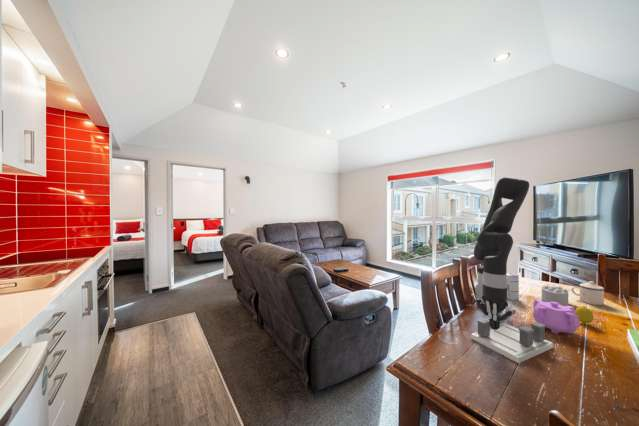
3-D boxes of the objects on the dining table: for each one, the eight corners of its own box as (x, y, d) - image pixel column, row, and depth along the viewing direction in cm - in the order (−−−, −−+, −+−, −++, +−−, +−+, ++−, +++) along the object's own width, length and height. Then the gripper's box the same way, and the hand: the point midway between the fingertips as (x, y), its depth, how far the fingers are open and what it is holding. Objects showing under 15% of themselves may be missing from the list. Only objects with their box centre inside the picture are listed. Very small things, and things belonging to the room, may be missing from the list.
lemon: (597, 327, 99) (597, 309, 99) (582, 326, 100) (582, 308, 100) (585, 321, 104) (585, 304, 104) (571, 320, 106) (571, 303, 106)
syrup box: (519, 300, 130) (519, 275, 129) (509, 300, 130) (509, 275, 130) (511, 296, 135) (511, 272, 135) (501, 296, 135) (501, 272, 135)
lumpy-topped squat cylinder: (568, 302, 126) (568, 286, 126) (568, 308, 118) (568, 292, 118) (542, 296, 134) (542, 282, 134) (540, 302, 126) (540, 287, 125)
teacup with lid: (604, 302, 125) (604, 282, 125) (604, 307, 119) (604, 285, 119) (572, 296, 134) (572, 277, 134) (570, 300, 129) (570, 280, 129)
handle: (530, 338, 87) (530, 323, 87) (536, 336, 88) (536, 321, 88) (540, 342, 84) (540, 327, 84) (545, 340, 86) (545, 325, 86)
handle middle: (518, 343, 84) (518, 327, 84) (524, 340, 85) (524, 325, 85) (527, 347, 81) (527, 331, 81) (534, 344, 83) (534, 329, 83)
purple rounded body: (516, 319, 107) (516, 294, 107) (552, 318, 107) (552, 294, 107) (556, 341, 89) (556, 311, 89) (599, 340, 89) (599, 311, 89)
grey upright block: (476, 334, 90) (476, 319, 90) (483, 332, 92) (483, 318, 92) (484, 337, 88) (484, 323, 87) (490, 335, 89) (490, 321, 89)
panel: (471, 338, 91) (471, 333, 91) (504, 327, 99) (504, 322, 99) (518, 363, 76) (518, 357, 76) (552, 348, 85) (552, 342, 85)
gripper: (521, 288, 81) (520, 335, 81) (482, 278, 93) (482, 319, 94) (508, 291, 78) (508, 340, 78) (470, 280, 90) (470, 322, 91)
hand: (494, 328), depth 86 cm, fingers closed
